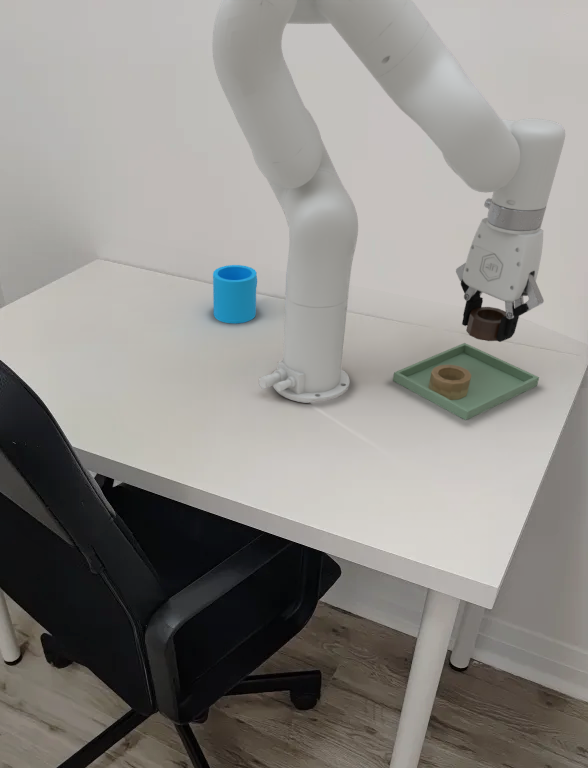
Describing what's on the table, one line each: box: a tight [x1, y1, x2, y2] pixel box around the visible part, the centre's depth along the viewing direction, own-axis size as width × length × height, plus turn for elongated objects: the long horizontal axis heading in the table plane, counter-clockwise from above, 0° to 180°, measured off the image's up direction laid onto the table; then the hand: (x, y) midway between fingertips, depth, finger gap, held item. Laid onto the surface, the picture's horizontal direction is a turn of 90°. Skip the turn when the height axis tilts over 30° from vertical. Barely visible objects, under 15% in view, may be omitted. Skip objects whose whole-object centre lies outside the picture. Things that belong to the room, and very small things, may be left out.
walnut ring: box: [465, 306, 506, 342], centre depth 121 cm, size 6×6×3 cm
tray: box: [392, 342, 540, 421], centre depth 125 cm, size 17×15×2 cm
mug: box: [212, 264, 258, 324], centre depth 147 cm, size 12×8×8 cm
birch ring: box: [429, 365, 471, 400], centre depth 123 cm, size 6×6×3 cm
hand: (486, 330), depth 122 cm, fingers closed on walnut ring, 6 cm apart
